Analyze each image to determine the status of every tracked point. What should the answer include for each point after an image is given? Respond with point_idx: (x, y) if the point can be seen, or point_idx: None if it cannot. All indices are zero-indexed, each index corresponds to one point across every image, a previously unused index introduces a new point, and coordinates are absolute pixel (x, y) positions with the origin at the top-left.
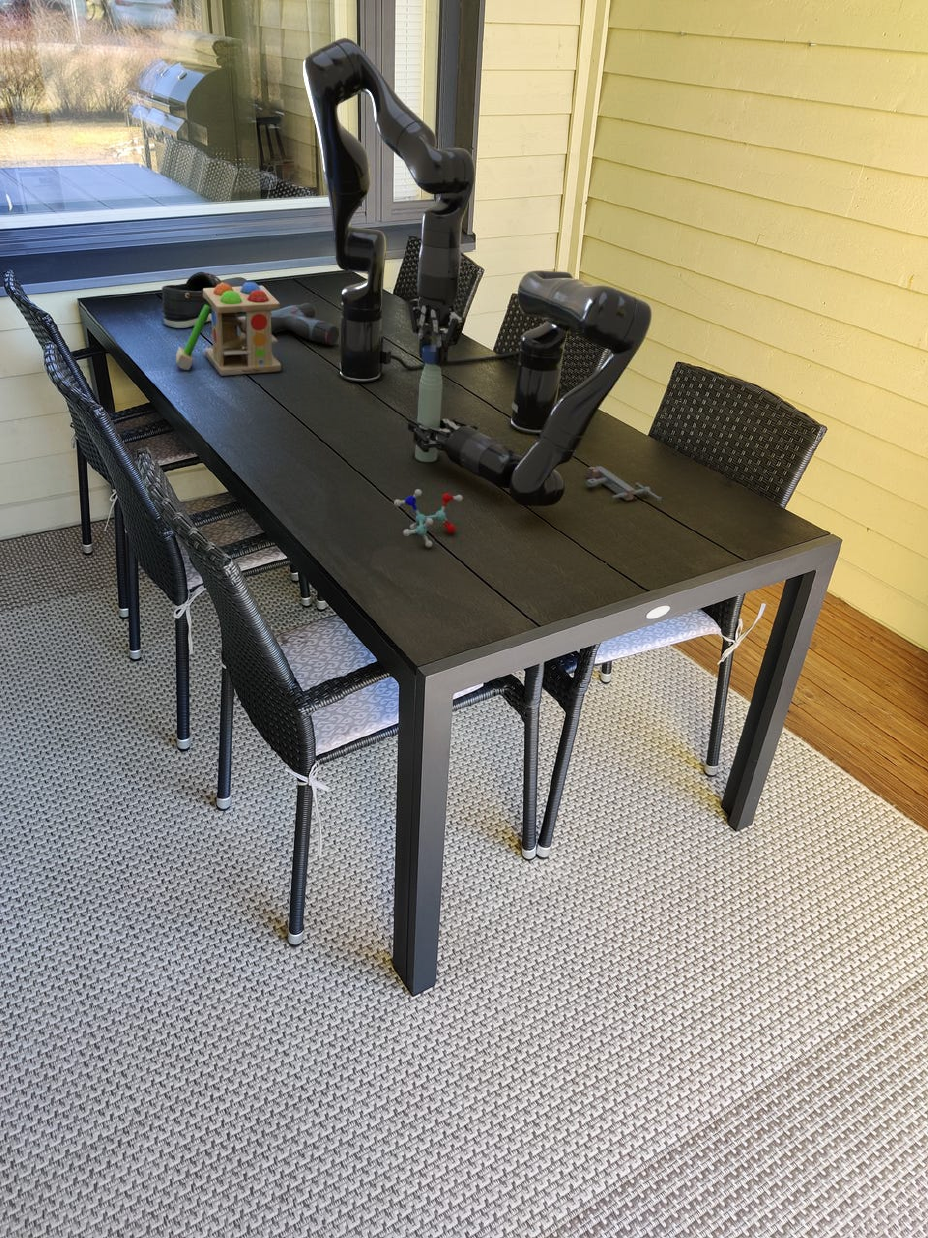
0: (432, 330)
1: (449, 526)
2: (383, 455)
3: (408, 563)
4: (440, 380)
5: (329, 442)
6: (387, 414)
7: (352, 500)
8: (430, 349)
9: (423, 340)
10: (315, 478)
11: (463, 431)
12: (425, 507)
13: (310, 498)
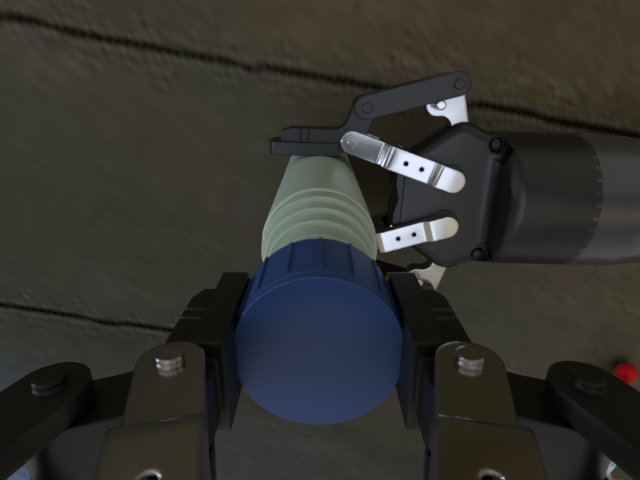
0: (206, 398)
1: (630, 381)
2: (250, 253)
3: (620, 471)
4: (371, 241)
5: (124, 313)
6: (4, 61)
7: (388, 423)
8: (328, 389)
9: (231, 423)
10: (270, 426)
11: (544, 240)
12: (508, 336)
13: (335, 471)
